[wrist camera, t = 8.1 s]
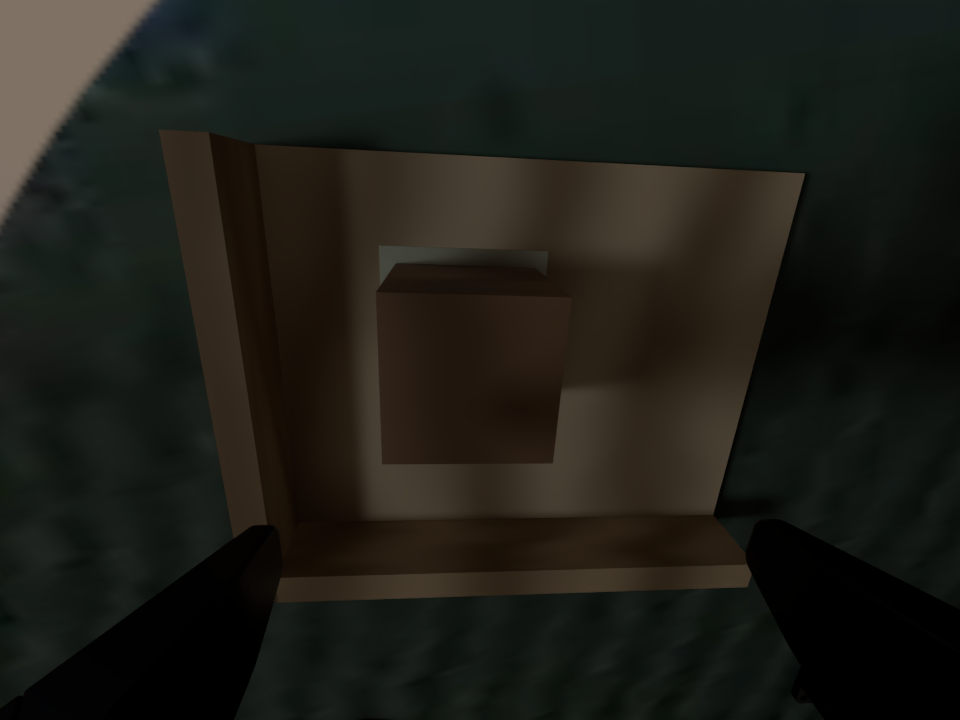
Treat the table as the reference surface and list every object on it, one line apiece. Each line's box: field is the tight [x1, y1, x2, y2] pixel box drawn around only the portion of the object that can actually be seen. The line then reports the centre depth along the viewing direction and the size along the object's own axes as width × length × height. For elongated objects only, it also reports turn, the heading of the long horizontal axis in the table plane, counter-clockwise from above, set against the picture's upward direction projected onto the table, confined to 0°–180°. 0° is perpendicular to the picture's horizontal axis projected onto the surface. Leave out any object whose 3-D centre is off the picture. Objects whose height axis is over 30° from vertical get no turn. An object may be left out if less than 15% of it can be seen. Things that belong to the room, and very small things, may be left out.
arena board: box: [159, 130, 805, 603], centre depth 17 cm, size 20×16×4 cm
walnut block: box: [376, 263, 572, 464], centre depth 15 cm, size 5×5×5 cm
